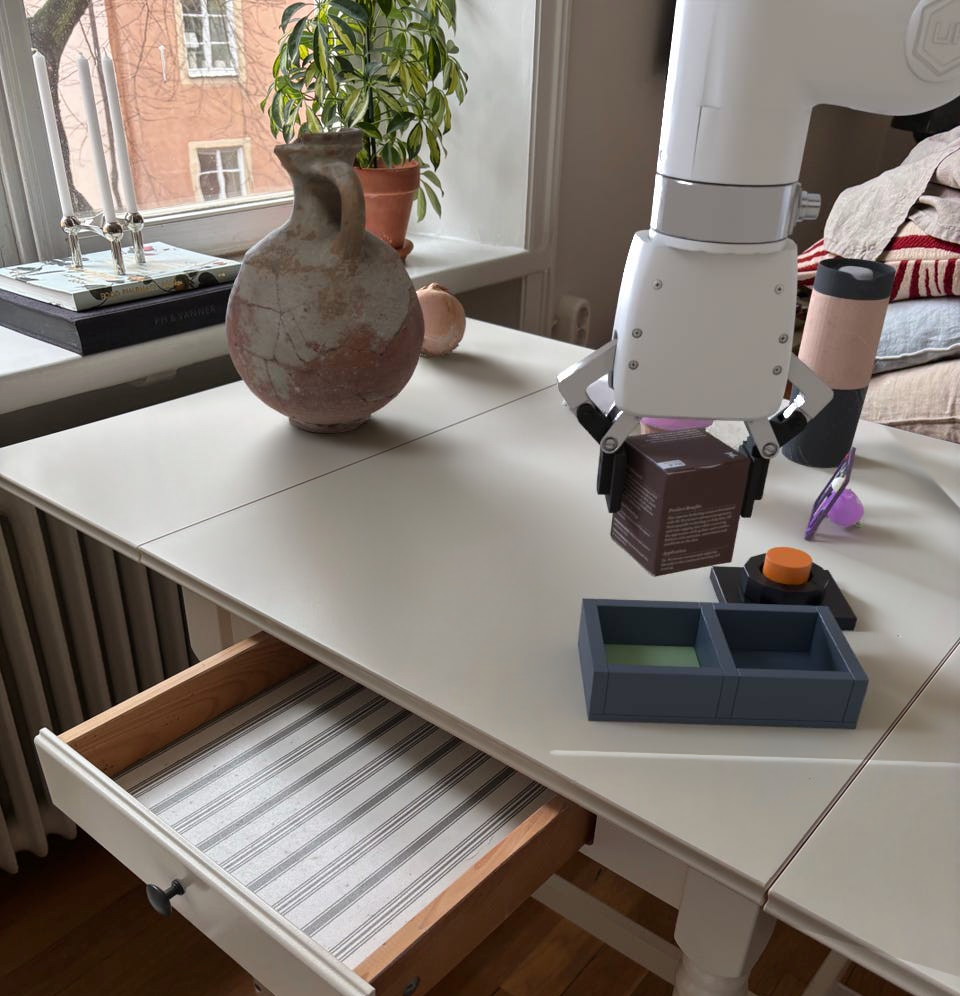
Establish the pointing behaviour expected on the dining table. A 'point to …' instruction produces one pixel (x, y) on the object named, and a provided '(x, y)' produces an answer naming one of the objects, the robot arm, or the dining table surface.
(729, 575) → the push button base
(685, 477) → the box
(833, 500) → the purple framed ornament
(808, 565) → the button
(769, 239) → the robot arm
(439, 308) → the onion
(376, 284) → the jug
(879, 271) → the travel mug
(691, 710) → the holder
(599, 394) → the bird figurine
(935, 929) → the dining table surface
